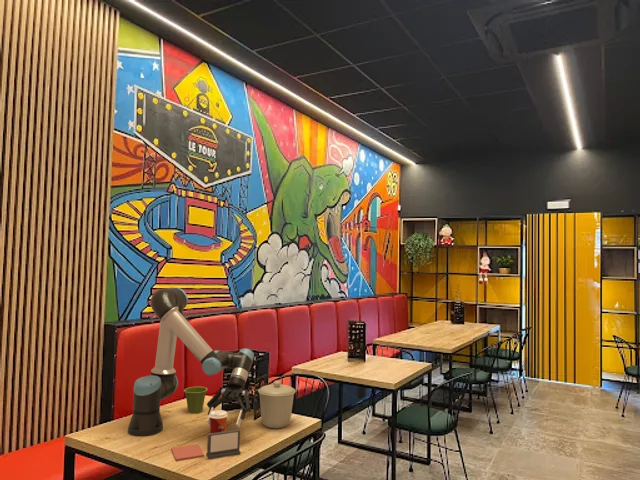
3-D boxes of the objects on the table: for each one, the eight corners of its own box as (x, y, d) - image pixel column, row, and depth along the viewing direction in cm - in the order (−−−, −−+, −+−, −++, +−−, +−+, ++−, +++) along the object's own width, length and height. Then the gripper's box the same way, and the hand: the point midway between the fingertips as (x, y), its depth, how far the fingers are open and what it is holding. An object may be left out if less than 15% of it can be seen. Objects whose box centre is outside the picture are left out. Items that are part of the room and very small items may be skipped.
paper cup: (222, 450, 194) (223, 416, 194) (205, 448, 195) (206, 414, 196) (229, 443, 201) (230, 410, 202) (212, 441, 203) (214, 408, 204)
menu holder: (206, 455, 188) (207, 432, 189) (237, 450, 194) (238, 428, 194) (208, 459, 185) (209, 436, 185) (240, 454, 190) (241, 431, 191)
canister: (275, 416, 238) (277, 374, 239) (302, 424, 227) (303, 380, 228) (249, 425, 224) (250, 380, 225) (275, 434, 213) (277, 387, 214)
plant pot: (190, 406, 250) (191, 385, 250) (210, 409, 246) (211, 387, 247) (178, 413, 238) (179, 391, 239) (199, 416, 235) (200, 393, 236)
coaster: (171, 449, 193) (171, 447, 193) (198, 445, 198) (198, 443, 198) (175, 461, 182) (175, 459, 182) (204, 456, 187) (204, 454, 187)
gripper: (265, 386, 215) (252, 431, 200) (215, 382, 221) (199, 425, 205) (261, 377, 210) (247, 423, 195) (210, 373, 216) (193, 417, 200)
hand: (222, 424), depth 200 cm, fingers open, 13 cm apart
